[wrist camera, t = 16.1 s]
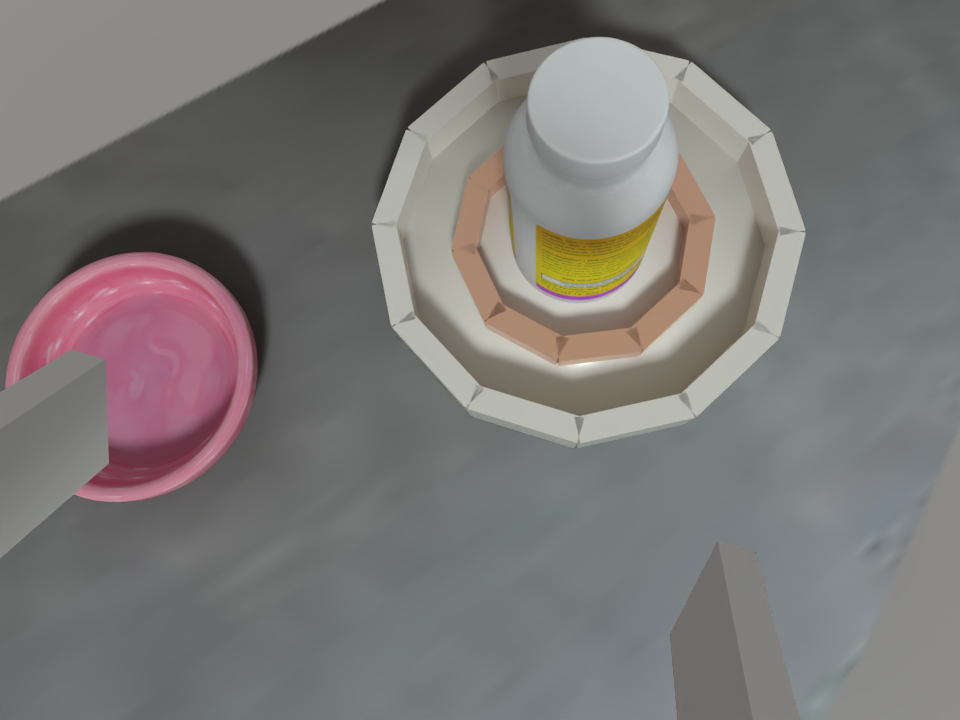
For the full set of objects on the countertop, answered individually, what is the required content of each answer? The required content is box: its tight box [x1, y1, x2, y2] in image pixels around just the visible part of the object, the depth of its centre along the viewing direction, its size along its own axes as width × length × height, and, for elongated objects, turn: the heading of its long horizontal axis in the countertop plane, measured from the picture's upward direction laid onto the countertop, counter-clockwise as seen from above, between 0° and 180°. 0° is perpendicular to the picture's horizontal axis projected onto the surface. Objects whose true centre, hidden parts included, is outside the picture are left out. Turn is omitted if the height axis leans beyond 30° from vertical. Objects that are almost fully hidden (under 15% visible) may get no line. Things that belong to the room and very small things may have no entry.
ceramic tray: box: [372, 37, 806, 448], centre depth 35 cm, size 20×20×3 cm
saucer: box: [5, 252, 258, 502], centre depth 35 cm, size 12×12×3 cm
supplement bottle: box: [503, 37, 679, 303], centre depth 29 cm, size 7×7×13 cm
